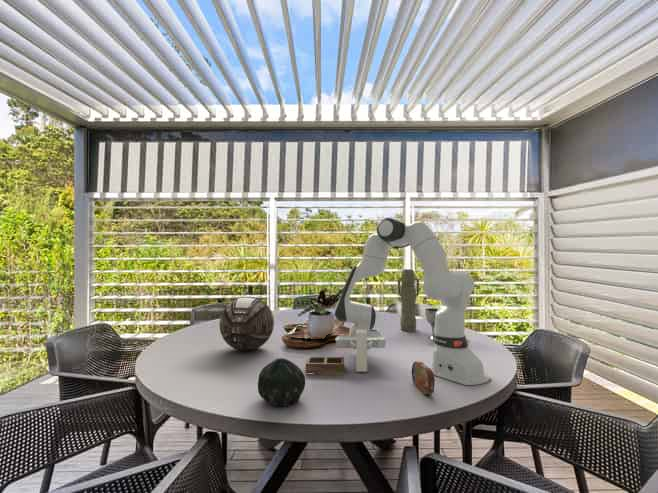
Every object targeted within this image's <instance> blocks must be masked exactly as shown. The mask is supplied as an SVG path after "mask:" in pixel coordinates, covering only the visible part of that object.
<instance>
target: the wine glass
mask: <svg viewBox="0 0 658 493" xmlns="http://www.w3.org/2000/svg"><path fill="white" fill-rule="evenodd" d="M438 309H439V308H431V307H430V308H425V310H424V313H425V314H424V315H425V319H426V321H427V322H428V323H429V325H430V327H431V330H432V332H431V335H429V336H426V337H425V338H426V339H428V340H433V341H434V333H435V314H436V311H437V310H438Z"/></svg>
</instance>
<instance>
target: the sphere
mask: <svg viewBox="0 0 658 493" xmlns="http://www.w3.org/2000/svg"><path fill="white" fill-rule="evenodd" d="M274 319H275V318H274V315H273V312H272V309H271V308H270V306H269V305H268V304H267V303H266V302H264V301H263V300H262V299H260V298H257V297H255V296H241V297H238V298H236V299H234V300H231V302H230V303H228V305H227V306H225V307H224V309H223V311H222V313H221V315H220V318H219V332H220V335H221V338H222V339H223V341H225V343H226V344H227V345H228V346H229V347H231V348H233V349H235V350H237V351H243V352H248V351H254V350H256V349H258V348H259V349H260V347H262V346H264V344H265V345H266V343H267V342H268V341H269V339H270V338H271V336H272V334H273V332H274V328H275V327H274V326H275V320H274Z"/></svg>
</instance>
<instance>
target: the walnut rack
mask: <svg viewBox="0 0 658 493" xmlns="http://www.w3.org/2000/svg"><path fill="white" fill-rule="evenodd" d="M306 373H314V374H313V375H323V374H344V375H345V357H344V356H307V358H306V361H305V374H306Z"/></svg>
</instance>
